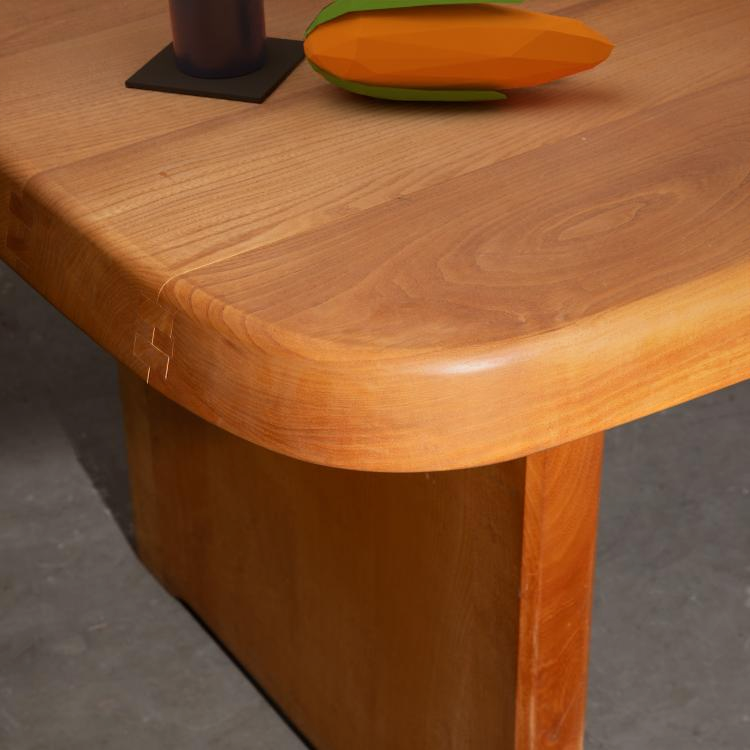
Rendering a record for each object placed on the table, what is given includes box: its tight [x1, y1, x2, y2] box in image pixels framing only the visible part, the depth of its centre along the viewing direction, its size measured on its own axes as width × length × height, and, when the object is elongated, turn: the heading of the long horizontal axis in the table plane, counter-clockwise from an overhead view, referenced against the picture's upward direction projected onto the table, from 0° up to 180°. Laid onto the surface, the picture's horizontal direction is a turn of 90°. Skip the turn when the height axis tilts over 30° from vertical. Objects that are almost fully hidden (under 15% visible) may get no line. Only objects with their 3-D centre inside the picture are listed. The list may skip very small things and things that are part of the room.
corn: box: [303, 0, 615, 102], centre depth 94 cm, size 7×8×20 cm
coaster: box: [124, 36, 306, 104], centre depth 101 cm, size 10×10×1 cm
